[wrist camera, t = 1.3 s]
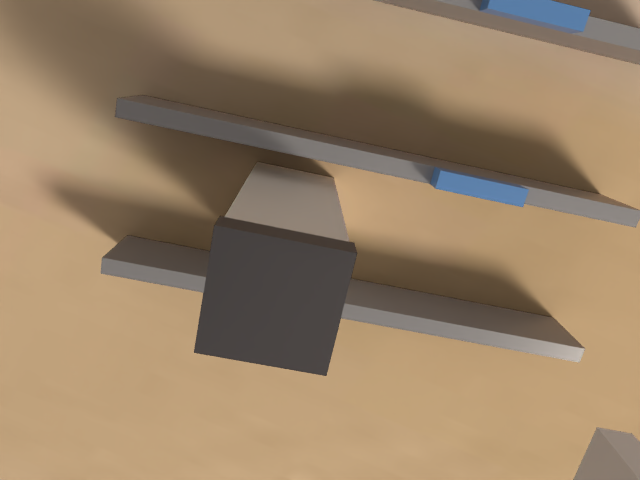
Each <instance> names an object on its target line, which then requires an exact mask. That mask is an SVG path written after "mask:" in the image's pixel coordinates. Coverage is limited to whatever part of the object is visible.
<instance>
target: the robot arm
mask: <svg viewBox="0 0 640 480" xmlns="http://www.w3.org/2000/svg"><path fill="white" fill-rule="evenodd" d="M573 480H640V442H639V441H638V440H637V438H636V437H635V436H634V435H633V434H632V433H626V432H621V431H615V430H609V429H604V428H598V427H597V428H596V431H595V433H594V435H593V437H592V439H591V442H590V444H589V446H588V448H587V450H586V453H585V455H584V457H583V459H582V462H581V464H580V466H579V468H578V470H577V473H576V475H575V477H574V479H573Z"/></svg>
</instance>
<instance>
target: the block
mask: <svg viewBox="0 0 640 480" xmlns="http://www.w3.org/2000/svg"><path fill="white" fill-rule="evenodd" d="M356 256H357V251H356V247H355V244H354V243H353V242H349V238H348V234H347V230H346V226H345V222H344V218H343V214H342V210H341V206H340V201H339V197H338V193H337V189H336V185H335V181H334V178H332V177H328V176H323V175H318V174H313V173H309V172H304V171H299V170H294V169H290V168H285V167H280V166H275V165H271V164H266V163H261V162H256V164H255V166H254V168H253V169H252V171H251V173H250V174H249V176H248V178H247V179H246V181H245V183H244V185H243V186H242V188H241V190H240V191H239V193H238V195H237V196H236V198H235V200H234V202H233V203H232V205H231V207H230V208H229V210H228V212H227V213H226V215H225V217H223V216H220V217H219V218H218V220H217V222H216V223H215V225H214V230H213V237H212V243H211V249H210V255H209V262H208V268H207V274H206V280H205V287H204V293H203V299H202V305H201V312H200V318H199V324H198V330H197V337H196V343H195V349H194V353H199V354H204V355H210V356H216V357H222V358H227V359H233V360H239V361H244V362H250V363H256V364H261V365H267V366H273V367H278V368H284V369H290V370H295V371H301V372H307V373H312V374H318V375H324V376H326V375H327V371H328V367H329V363H330V359H331V355H332V351H333V347H334V343H335V339H336V335H337V331H338V327H339V323H340V319H341V315H342V312H343V308H344V304H345V300H346V296H347V292H348V288H349V284H350V280H351V276H352V272H353V268H354V264H355V260H356Z"/></svg>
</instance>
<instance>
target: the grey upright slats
mask: <svg viewBox="0 0 640 480" xmlns="http://www.w3.org/2000/svg"><path fill="white" fill-rule="evenodd" d="M375 1H379V2H383V3H387V4H391V5H395V6H400V7H404V8H408V9H412V10H416V11H420V12H424V13H428V14H433V15H437V16H441V17H445V18H449V19H453V20H457V21H462V22H466V23H470V24H474V25H478V26H482V27H486V28H490V29H495V30H499V31H503V32H507V33H511V34H515V35H519V36H524V37H528V38H532V39H536V40H540V41H544V42H548V43H552V44H557V45H561V46H565V47H569V48H573V49H577V50H581V51H586V52H590V53H594V54H598V55H602V56H606V57H610V58H614V59H619V60H623V61H627V62H631V63H635V64H639V65H640V29H639V28H635V27H631V26H627V25H623V24H619V23H615V22H611V21H607V20H603V19H599V18H595V17H591V16H589V14H590V11H591V10H588V9H583V8H579V7H575V6H571V5H567V4H563V3H559V2H555V1H551V0H375ZM115 117H117V118H122V119H127V120H132V121H136V122H141V123H146V124H150V125H155V126H160V127H164V128H169V129H174V130H179V131H183V132H188V133H193V134H197V135H202V136H207V137H212V138H216V139H221V140H226V141H230V142H235V143H240V144H245V145H249V146H254V147H259V148H263V149H268V150H273V151H278V152H282V153H287V154H292V155H296V156H301V157H306V158H310V159H315V160H320V161H325V162H329V163H334V164H339V165H343V166H348V167H353V168H358V169H362V170H367V171H372V172H376V173H381V174H386V175H391V176H395V177H400V178H405V179H409V180H414V181H419V182H424V183H428V184H431V185H432V186H433V187H434V188H435V189H440V190H444V191H449V192H454V193H459V194H463V195H468V196H473V197H478V198H482V199H487V200H492V201H496V202H501V203H506V204H511V205H515V206H520V207H523V206H524V204H527V205H532V206H537V207H541V208H546V209H551V210H555V211H560V212H565V213H570V214H574V215H579V216H584V217H588V218H593V219H598V220H602V221H607V222H612V223H617V224H621V225H626V226H631V227H635V228H636V226H637V223H638V221H639V219H640V210H638V209H636V208H633V207H631V206H628V205H626V204H623V203H621V202H618V201H616V200H614V199H611V198H609V197H606V196H604V195H601V194H597V193H592V192H587V191H583V190H578V189H573V188H569V187H564V186H560V185H555V184H550V183H546V182H541V181H537V180H532V179H527V178H523V177H518V176H514V175H509V174H504V173H500V172H495V171H491V170H486V169H481V168H477V167H472V166H467V165H463V164H458V163H454V162H449V161H444V160H440V159H435V158H431V157H426V156H421V155H417V154H412V153H408V152H403V151H398V150H394V149H389V148H384V147H380V146H375V145H371V144H366V143H361V142H357V141H352V140H348V139H343V138H338V137H334V136H329V135H325V134H320V133H315V132H311V131H306V130H302V129H297V128H292V127H288V126H283V125H278V124H274V123H269V122H265V121H260V120H255V119H251V118H246V117H242V116H237V115H232V114H228V113H223V112H219V111H214V110H209V109H205V108H200V107H195V106H191V105H186V104H182V103H177V102H172V101H168V100H163V99H159V98H154V97H149V96H145V95H138V96H130V97H122V98H117V104H116V115H115ZM209 255H210V251H206V250H201V249H196V248H191V247H186V246H180V245H175V244H170V243H165V242H160V241H155V240H149V239H144V238H139V237H134V236H129V235H127V236H126V237H125V238H124V239H123V240H121V241H120V242H119V243H118V244H117V245H116V246H115V247H114V248H112V249H111V250H110V251H109V252H108V253H107V254H106V255H105V256H103V257H102V264H101V274H106V275H112V276H117V277H123V278H128V279H133V280H139V281H144V282H149V283H155V284H160V285H166V286H171V287H176V288H182V289H187V290H192V291H198V292H203V293H204V287H205V280H206V274H207V268H208V262H209ZM341 318H343V319H348V320H354V321H359V322H364V323H370V324H375V325H381V326H386V327H391V328H397V329H402V330H407V331H413V332H418V333H424V334H429V335H434V336H440V337H445V338H450V339H456V340H461V341H467V342H472V343H477V344H483V345H488V346H493V347H499V348H504V349H510V350H515V351H520V352H526V353H531V354H536V355H542V356H547V357H553V358H558V359H563V360H569V361H574V362H580V360H581V358H582V355H583V353H584V350H585V348H584V347H583V346H582V345H581V344H580V343H579V342H578V341H577V340H576V339H575V338H574V337H573V336H572V335H571V334H570V333H569V332H568V331H567V330H566V329H565V328H564V327H563V326H562V325H561V324H560V323H558V322H557V321H556V320H555V319H554V318H553V317H548V316H543V315H538V314H532V313H527V312H522V311H517V310H512V309H506V308H501V307H496V306H491V305H486V304H481V303H475V302H470V301H465V300H460V299H455V298H450V297H444V296H439V295H434V294H429V293H424V292H418V291H413V290H408V289H403V288H398V287H393V286H387V285H382V284H377V283H372V282H367V281H362V280H356V279H351V280H350V284H349V288H348V292H347V296H346V300H345V304H344V308H343V312H342V315H341Z"/></svg>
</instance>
